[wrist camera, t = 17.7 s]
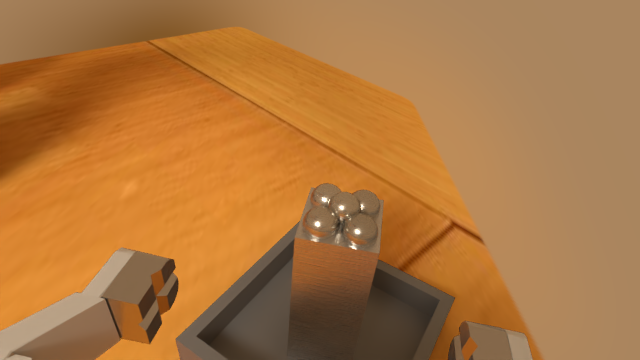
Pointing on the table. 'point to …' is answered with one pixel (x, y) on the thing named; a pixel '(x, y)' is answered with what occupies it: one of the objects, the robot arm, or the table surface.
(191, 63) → the table surface
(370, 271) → the ball-topped square pillar
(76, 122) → the table surface
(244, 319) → the charcoal bin
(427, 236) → the table surface
